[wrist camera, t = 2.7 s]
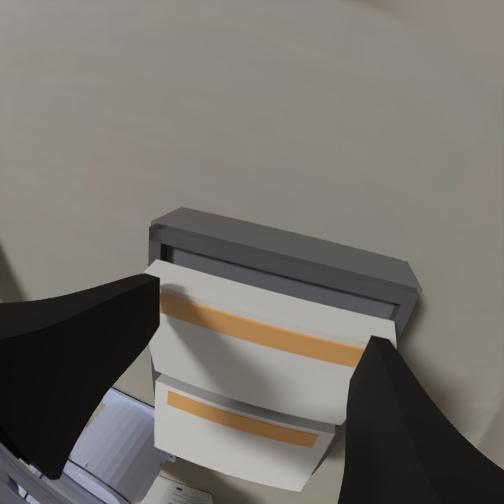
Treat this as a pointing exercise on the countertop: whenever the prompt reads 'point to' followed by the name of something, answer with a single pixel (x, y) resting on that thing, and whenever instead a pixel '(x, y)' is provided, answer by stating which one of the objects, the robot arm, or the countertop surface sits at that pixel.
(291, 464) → the panel
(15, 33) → the countertop surface
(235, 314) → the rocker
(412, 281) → the grey divided tray
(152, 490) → the container
